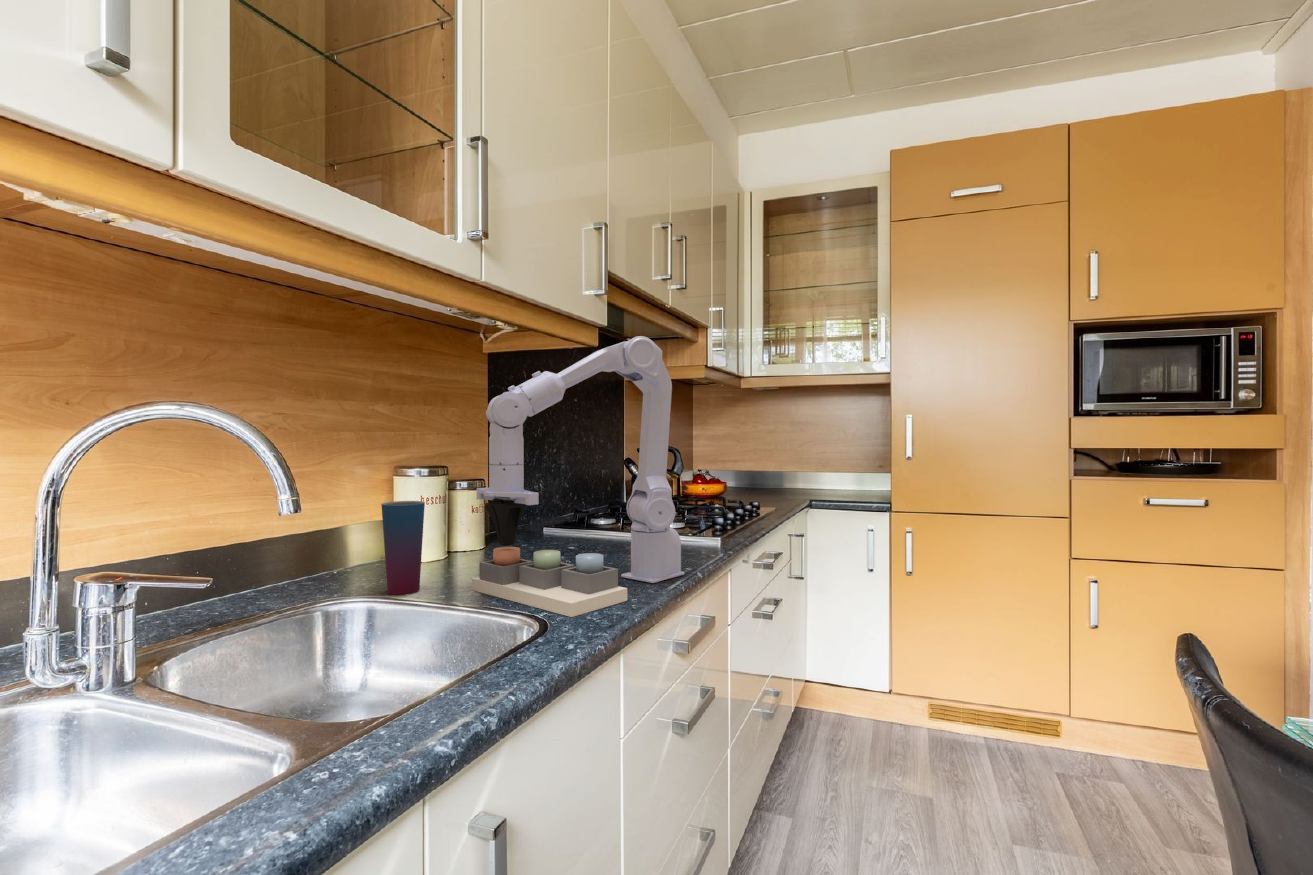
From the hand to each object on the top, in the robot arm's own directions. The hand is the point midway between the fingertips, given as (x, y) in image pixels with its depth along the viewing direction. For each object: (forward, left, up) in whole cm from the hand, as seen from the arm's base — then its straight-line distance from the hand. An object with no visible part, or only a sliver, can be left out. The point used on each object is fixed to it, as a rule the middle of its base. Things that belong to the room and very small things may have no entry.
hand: (506, 544), depth 109 cm
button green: (-3, +8, -3) cm, 8 cm away
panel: (-3, +8, -8) cm, 11 cm away
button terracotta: (0, 0, -3) cm, 3 cm away
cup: (+11, -13, -8) cm, 19 cm away
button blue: (-5, +15, -3) cm, 16 cm away
